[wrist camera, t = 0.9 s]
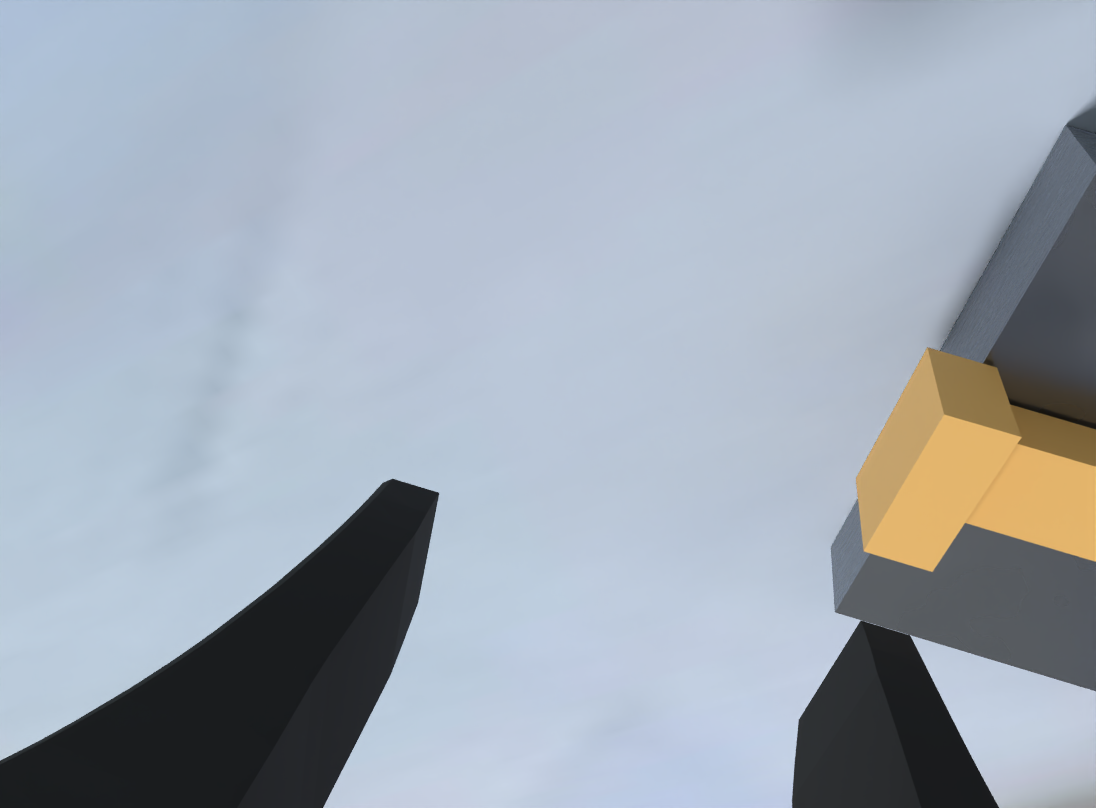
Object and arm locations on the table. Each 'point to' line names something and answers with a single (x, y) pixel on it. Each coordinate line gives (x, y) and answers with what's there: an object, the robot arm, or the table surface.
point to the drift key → (974, 469)
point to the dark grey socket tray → (1031, 383)
